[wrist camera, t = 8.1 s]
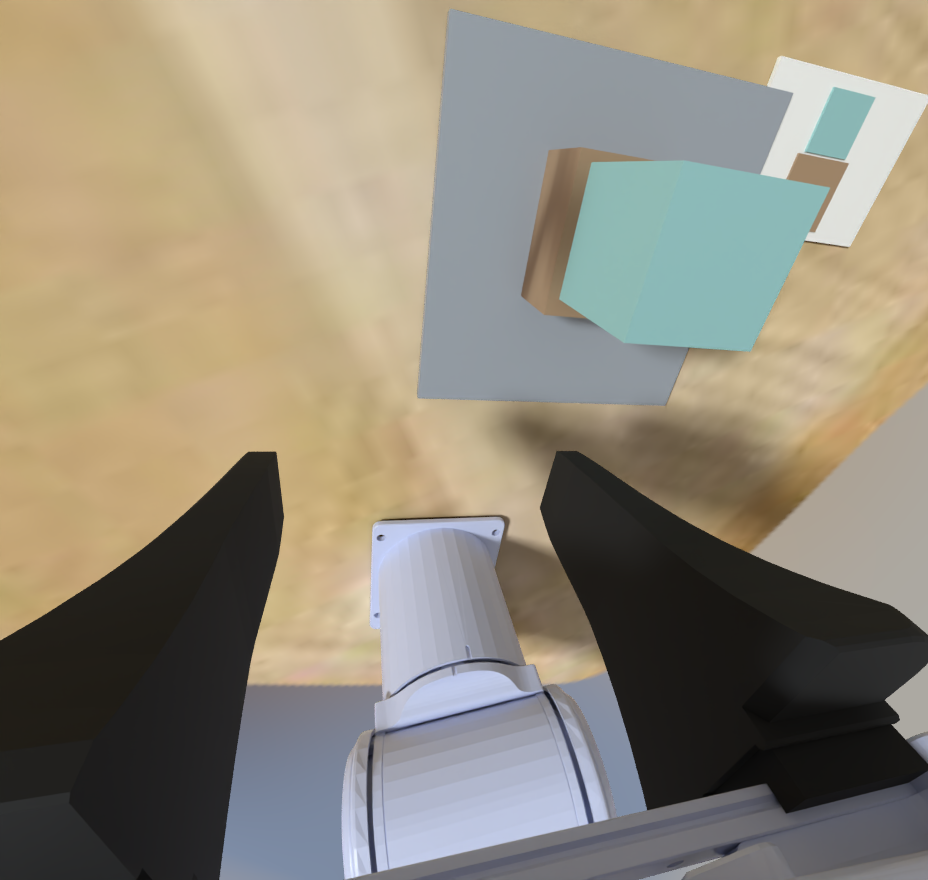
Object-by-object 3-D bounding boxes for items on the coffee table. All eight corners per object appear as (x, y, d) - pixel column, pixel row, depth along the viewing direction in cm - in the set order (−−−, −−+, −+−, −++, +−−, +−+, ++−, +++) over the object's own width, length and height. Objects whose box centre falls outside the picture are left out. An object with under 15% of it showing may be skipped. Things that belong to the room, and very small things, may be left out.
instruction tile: (845, 246, 22) (851, 247, 21) (712, 226, 20) (717, 227, 20) (926, 96, 19) (933, 95, 18) (778, 57, 17) (784, 55, 17)
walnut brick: (628, 305, 21) (665, 324, 18) (520, 295, 19) (544, 315, 17) (671, 172, 18) (721, 172, 15) (548, 150, 17) (581, 147, 14)
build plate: (661, 402, 25) (665, 405, 24) (417, 394, 21) (417, 398, 21) (785, 94, 18) (793, 92, 17) (447, 12, 14) (450, 8, 14)
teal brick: (659, 308, 18) (750, 351, 14) (559, 299, 17) (624, 343, 13) (705, 181, 15) (830, 187, 11) (591, 162, 14) (683, 160, 10)
